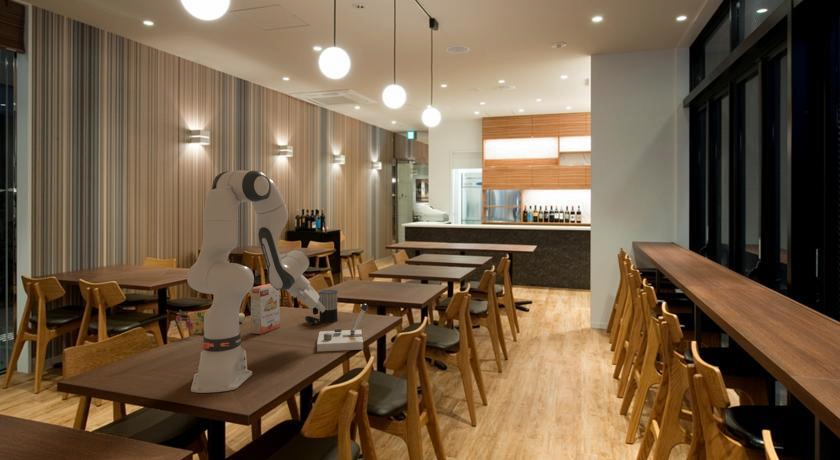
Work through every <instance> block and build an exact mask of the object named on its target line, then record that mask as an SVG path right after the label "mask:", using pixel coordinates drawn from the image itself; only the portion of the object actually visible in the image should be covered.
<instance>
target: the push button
mask: <svg viewBox="0 0 840 460" xmlns="http://www.w3.org/2000/svg"><path fill="white" fill-rule="evenodd" d="M330 339H332V334H330V333H327V334H324V340H330Z"/></svg>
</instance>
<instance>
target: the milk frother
mask: <svg viewBox="0 0 840 460" xmlns="http://www.w3.org/2000/svg"><path fill="white" fill-rule="evenodd" d="M317 293H318V294H319V296H320V297H319V301H320V303H321V304H322V305H323V306H324V307H325V311H324V312H321V311H320V310H318V309H317V308H316V307H314V308H313V309H312V314H313V315H315V316H316V315H317V314H319V317H318V318H317V317H314V316H310V315H309V316H308V315H307V316H305V317H304V319H305V321H306V322H307V323H308V324H310V325H312V326H314V325H320V323H336V322H338V321H339V319H338V290H336V289H322V290H318V292H317Z"/></svg>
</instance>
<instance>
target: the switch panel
mask: <svg viewBox="0 0 840 460" xmlns="http://www.w3.org/2000/svg"><path fill="white" fill-rule="evenodd" d="M351 330H352V329H345V330H342V329H341V332H335V330H322V331H319V333H318V336H317V337H318V338H317V341H316V352H334V351H335V352H337V351H338V352H339V351H355V350H357V351H358V350H364V340H363V332H362V329H356V330H355V334H354V335H351V334H350V331H351ZM327 333H330V334H332V339H330V340H324V334H327Z"/></svg>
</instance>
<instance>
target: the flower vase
mask: <svg viewBox="0 0 840 460" xmlns="http://www.w3.org/2000/svg"><path fill="white" fill-rule="evenodd" d="M185 313H186V311H182V310H181V309H179V314H180V315H176V318H175V323H176V322H177V323H176V324H174V325H175V326H174V327H175V328H177V327H179V325H180V323H181V322H182V323H185V324H184V326H185V328H186V329H187V330H189V331H192V330H193V328H194V324H195V326H196V327H197V326H199V325H200V322H201V323H204V315H202V312H200V311H198V312H197V315H196V316H197V317H198V319H197V318H193V320H196V322H195V321H194V322H192V321H191V319H190V318H189V317H188V318H186V317H183V316H184V315H185ZM181 315H183V316H181ZM245 320H246V316H245V314H244V313H243V312H239V324H243V323H245ZM200 330H201V333H203V334H204V327H201V328H200ZM198 332H199V329H198V328H197V329H195V331H194V334H197V333H198Z"/></svg>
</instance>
